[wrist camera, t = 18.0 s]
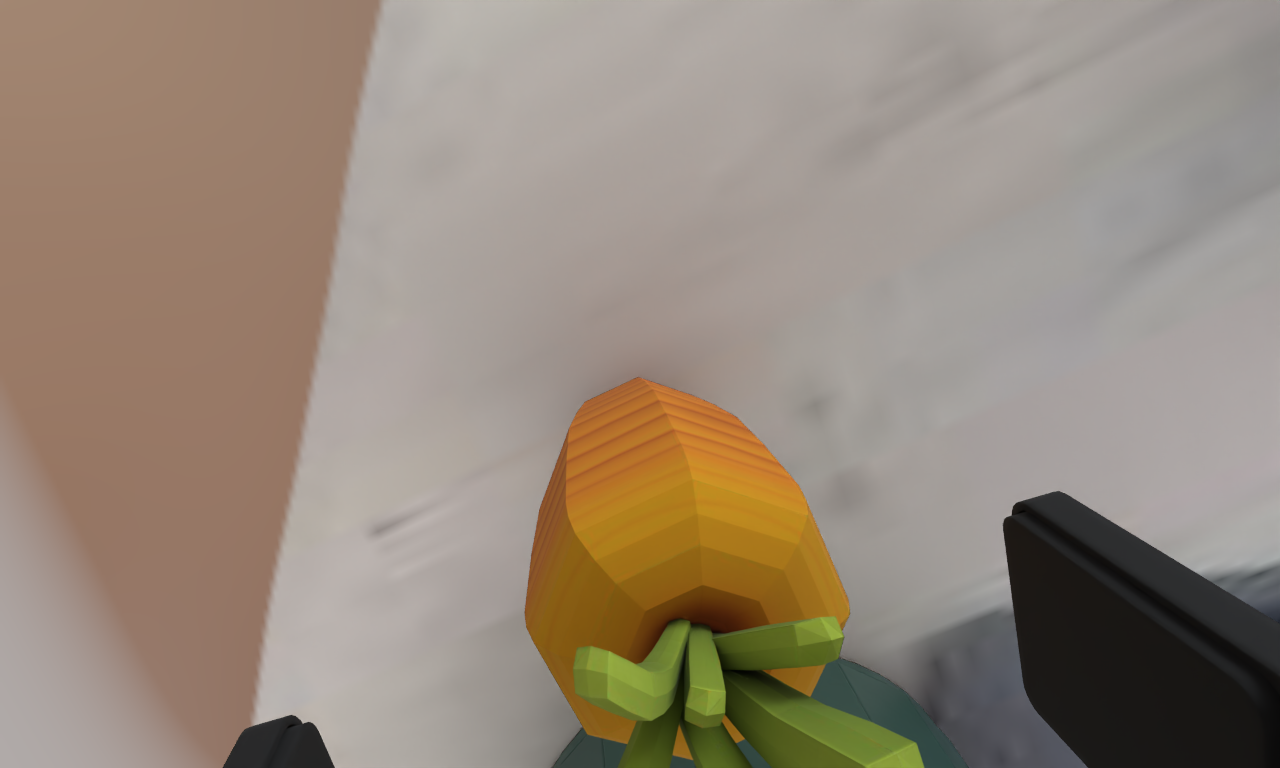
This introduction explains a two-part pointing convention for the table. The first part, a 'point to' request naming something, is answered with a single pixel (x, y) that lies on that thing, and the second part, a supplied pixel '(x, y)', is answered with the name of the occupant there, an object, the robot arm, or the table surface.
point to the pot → (840, 687)
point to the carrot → (691, 593)
